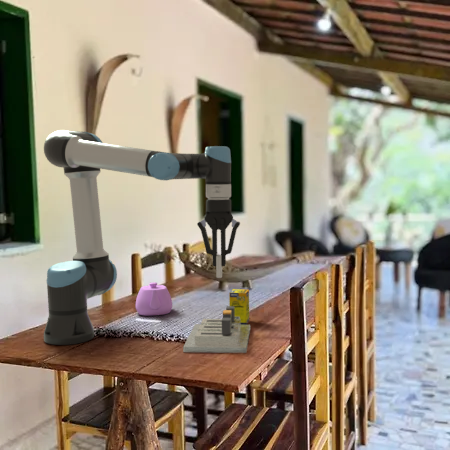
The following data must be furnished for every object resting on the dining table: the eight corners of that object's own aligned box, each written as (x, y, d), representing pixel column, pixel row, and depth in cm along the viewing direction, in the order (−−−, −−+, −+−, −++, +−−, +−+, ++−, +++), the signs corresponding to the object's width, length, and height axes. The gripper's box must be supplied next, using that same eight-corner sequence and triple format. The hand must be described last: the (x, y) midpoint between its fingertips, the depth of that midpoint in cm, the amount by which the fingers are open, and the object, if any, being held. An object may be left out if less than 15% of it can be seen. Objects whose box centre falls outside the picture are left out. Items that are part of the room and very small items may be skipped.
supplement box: (247, 325, 190) (246, 292, 189) (229, 324, 192) (228, 292, 190) (249, 320, 196) (249, 289, 195) (232, 319, 197) (232, 288, 196)
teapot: (136, 321, 198) (135, 289, 197) (134, 307, 217) (133, 278, 216) (175, 318, 200) (174, 287, 199) (170, 305, 220) (169, 277, 219)
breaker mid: (222, 327, 172) (222, 312, 172) (223, 324, 175) (223, 310, 175) (230, 327, 172) (230, 312, 172) (231, 324, 175) (231, 310, 175)
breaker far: (226, 321, 179) (226, 308, 179) (227, 318, 182) (226, 306, 182) (233, 321, 179) (233, 308, 179) (234, 318, 182) (234, 306, 182)
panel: (183, 352, 163) (183, 338, 163) (195, 328, 187) (195, 316, 187) (246, 353, 162) (246, 338, 161) (250, 329, 186) (250, 316, 185)
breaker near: (221, 333, 165) (221, 320, 165) (222, 330, 168) (222, 317, 168) (230, 334, 165) (229, 320, 165) (231, 331, 168) (230, 317, 168)
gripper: (195, 199, 167) (196, 279, 169) (239, 199, 166) (240, 279, 168) (198, 198, 174) (199, 274, 177) (241, 197, 173) (241, 274, 176)
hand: (219, 276), depth 173 cm, fingers closed
